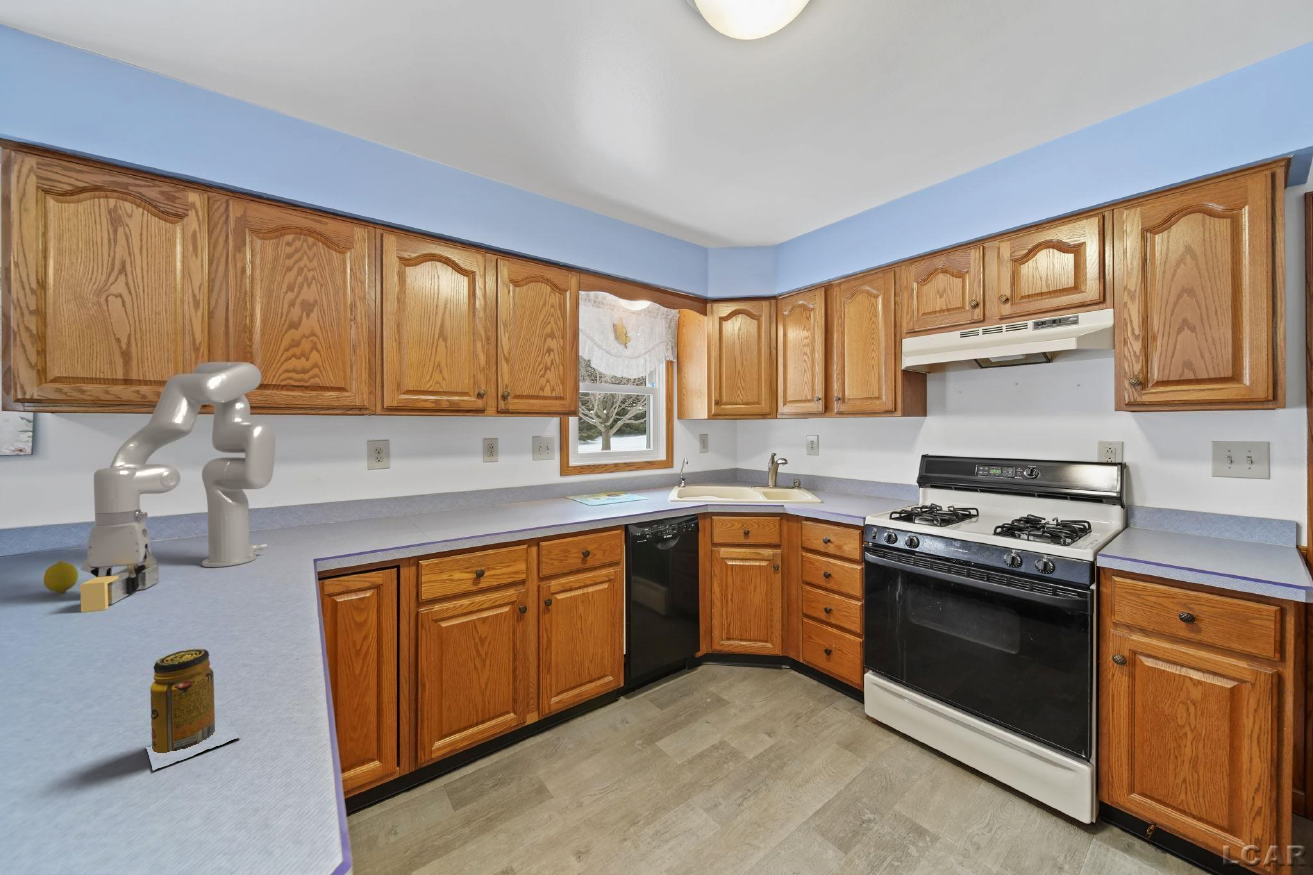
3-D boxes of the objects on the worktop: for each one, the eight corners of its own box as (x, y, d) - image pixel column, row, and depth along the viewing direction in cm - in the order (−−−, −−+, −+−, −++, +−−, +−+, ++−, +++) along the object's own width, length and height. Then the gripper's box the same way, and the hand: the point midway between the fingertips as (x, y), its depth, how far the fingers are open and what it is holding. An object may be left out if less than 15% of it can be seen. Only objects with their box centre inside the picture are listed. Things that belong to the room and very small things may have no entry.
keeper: (96, 604, 119) (95, 577, 118) (119, 601, 120) (118, 575, 120) (81, 612, 113) (80, 584, 113) (105, 609, 115) (104, 582, 115)
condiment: (145, 748, 66) (142, 657, 66) (229, 719, 73) (227, 636, 72) (152, 773, 61) (149, 675, 61) (241, 740, 68) (239, 651, 68)
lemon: (54, 598, 123) (53, 565, 123) (37, 596, 124) (36, 563, 124) (84, 590, 128) (83, 559, 128) (68, 589, 129) (67, 557, 129)
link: (121, 603, 118) (120, 584, 118) (82, 607, 116) (81, 588, 116) (158, 581, 135) (158, 564, 134) (125, 584, 132) (125, 567, 132)
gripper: (169, 513, 130) (172, 584, 131) (81, 518, 124) (84, 593, 124) (155, 518, 123) (157, 593, 124) (60, 524, 117) (63, 603, 117)
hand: (120, 593), depth 124 cm, fingers closed on link, 3 cm apart
